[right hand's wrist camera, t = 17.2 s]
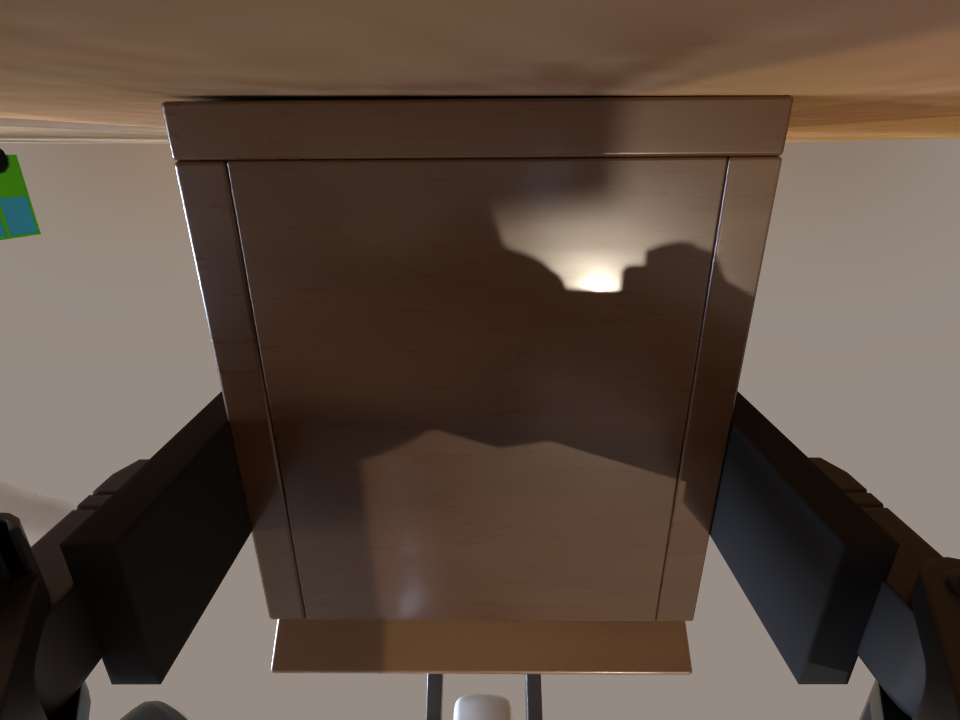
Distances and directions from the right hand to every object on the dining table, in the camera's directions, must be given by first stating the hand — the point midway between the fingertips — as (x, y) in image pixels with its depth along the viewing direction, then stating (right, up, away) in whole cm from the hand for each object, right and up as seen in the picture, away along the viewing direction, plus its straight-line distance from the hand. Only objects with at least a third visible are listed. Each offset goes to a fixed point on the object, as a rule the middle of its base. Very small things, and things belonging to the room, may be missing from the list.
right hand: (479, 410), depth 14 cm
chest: (0, +8, +2) cm, 9 cm away
